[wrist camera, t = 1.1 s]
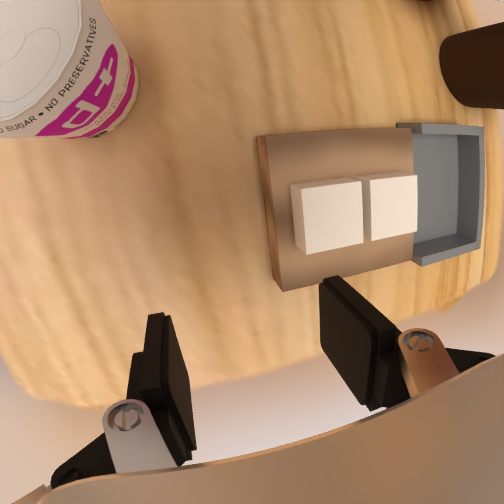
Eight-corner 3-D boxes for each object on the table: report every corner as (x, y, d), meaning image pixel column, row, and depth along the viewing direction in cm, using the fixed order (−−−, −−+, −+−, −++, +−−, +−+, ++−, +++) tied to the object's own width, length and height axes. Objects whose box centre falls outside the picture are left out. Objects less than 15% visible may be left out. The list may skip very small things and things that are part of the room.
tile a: (289, 184, 25) (300, 189, 23) (346, 177, 26) (361, 181, 23) (295, 244, 27) (306, 254, 24) (349, 234, 27) (363, 242, 25)
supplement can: (159, 90, 23) (136, 28, 9) (86, 158, 24) (-8, 178, 10) (104, 29, 20) (45, -60, 6) (34, 96, 20) (-75, 70, 7)
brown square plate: (256, 137, 26) (265, 136, 23) (392, 128, 28) (411, 128, 25) (273, 278, 31) (282, 291, 28) (395, 250, 33) (412, 259, 30)
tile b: (354, 176, 26) (369, 180, 23) (400, 171, 27) (417, 175, 24) (356, 232, 28) (371, 241, 25) (400, 224, 28) (417, 231, 26)
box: (396, 123, 28) (421, 123, 24) (458, 125, 30) (483, 126, 26) (399, 253, 33) (421, 266, 29) (458, 238, 35) (480, 248, 31)
